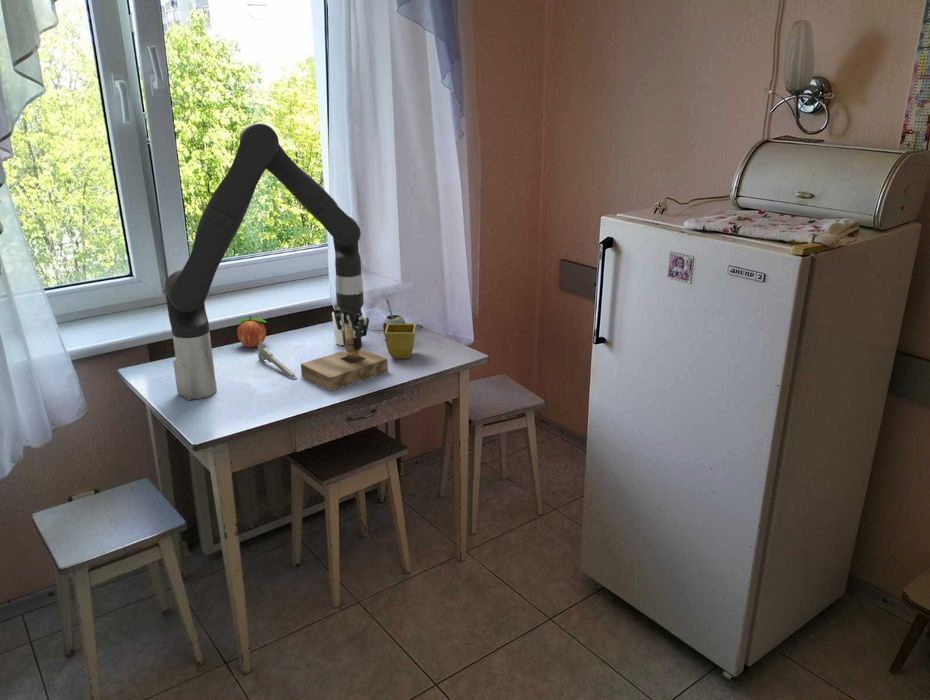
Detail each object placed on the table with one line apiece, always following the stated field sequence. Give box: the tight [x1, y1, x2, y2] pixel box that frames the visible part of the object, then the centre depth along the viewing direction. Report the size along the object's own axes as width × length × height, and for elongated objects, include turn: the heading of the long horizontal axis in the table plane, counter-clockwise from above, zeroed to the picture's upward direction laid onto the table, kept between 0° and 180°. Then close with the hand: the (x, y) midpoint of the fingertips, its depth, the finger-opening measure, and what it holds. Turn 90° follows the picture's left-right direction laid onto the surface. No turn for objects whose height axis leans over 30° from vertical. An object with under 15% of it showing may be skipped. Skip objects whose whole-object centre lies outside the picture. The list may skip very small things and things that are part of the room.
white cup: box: [331, 311, 344, 346], centre depth 239 cm, size 8×8×10 cm
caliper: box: [257, 342, 298, 380], centre depth 218 cm, size 20×1×6 cm, turn 43°
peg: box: [344, 323, 360, 358], centre depth 215 cm, size 4×4×10 cm
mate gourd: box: [381, 292, 406, 342], centre depth 240 cm, size 8×8×15 cm
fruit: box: [234, 315, 267, 348], centre depth 235 cm, size 9×10×10 cm
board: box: [300, 347, 389, 392], centre depth 215 cm, size 20×14×4 cm
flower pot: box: [384, 323, 416, 359], centre depth 228 cm, size 9×9×9 cm
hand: (352, 347), depth 215 cm, fingers closed on peg, 4 cm apart
